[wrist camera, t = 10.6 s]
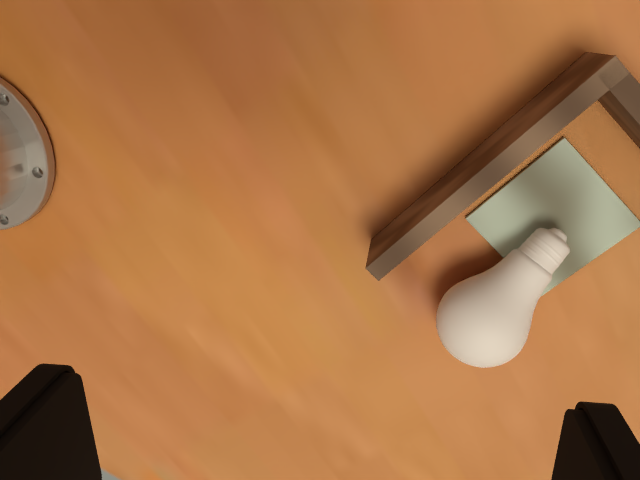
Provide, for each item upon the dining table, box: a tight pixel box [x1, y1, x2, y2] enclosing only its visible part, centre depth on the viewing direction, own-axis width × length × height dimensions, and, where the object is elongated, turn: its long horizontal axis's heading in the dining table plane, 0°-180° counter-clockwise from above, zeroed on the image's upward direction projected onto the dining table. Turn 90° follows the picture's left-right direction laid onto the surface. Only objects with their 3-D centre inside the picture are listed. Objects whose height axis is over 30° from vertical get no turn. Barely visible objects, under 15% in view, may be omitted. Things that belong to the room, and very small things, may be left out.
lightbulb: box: [436, 228, 570, 368], centre depth 35 cm, size 6×6×11 cm
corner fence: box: [366, 52, 640, 296], centre depth 34 cm, size 18×18×5 cm
